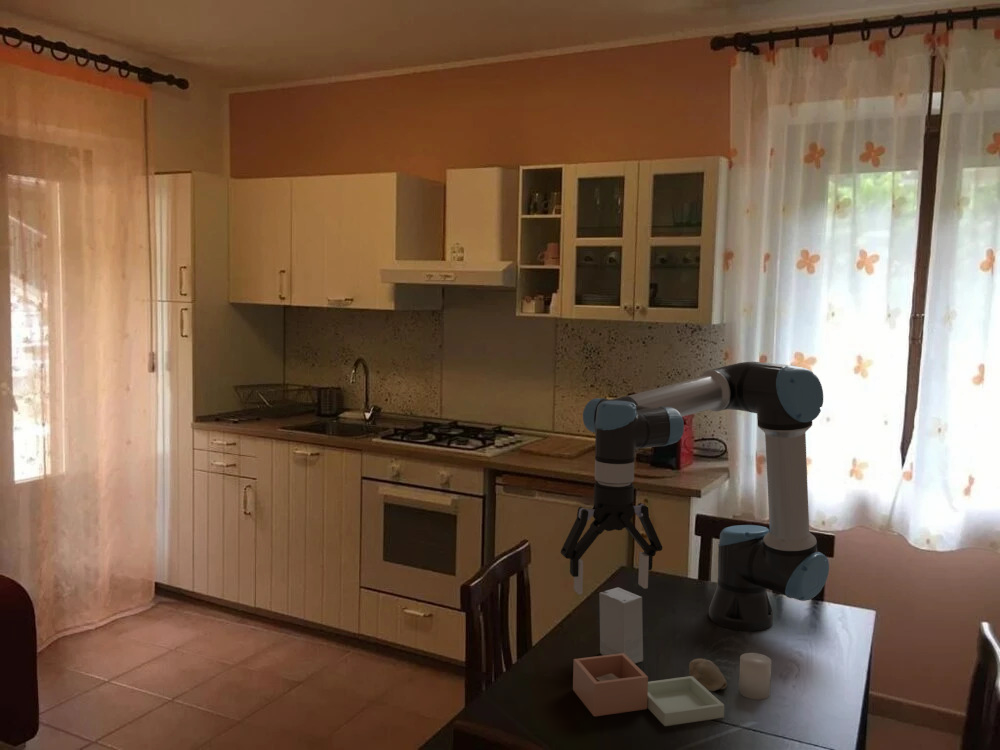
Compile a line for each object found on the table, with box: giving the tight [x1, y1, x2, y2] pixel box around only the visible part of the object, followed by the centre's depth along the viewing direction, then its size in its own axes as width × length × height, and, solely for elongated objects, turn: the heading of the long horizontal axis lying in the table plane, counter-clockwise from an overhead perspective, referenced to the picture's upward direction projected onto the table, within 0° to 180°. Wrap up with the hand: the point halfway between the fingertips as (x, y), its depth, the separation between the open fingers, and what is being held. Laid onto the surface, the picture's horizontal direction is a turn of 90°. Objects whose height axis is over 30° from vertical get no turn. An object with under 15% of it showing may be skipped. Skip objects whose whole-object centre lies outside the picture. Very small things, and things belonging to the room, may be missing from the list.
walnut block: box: [595, 673, 620, 682], centre depth 169 cm, size 4×4×4 cm
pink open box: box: [572, 653, 649, 718], centre depth 169 cm, size 11×11×7 cm
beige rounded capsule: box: [738, 652, 772, 701], centre depth 173 cm, size 6×6×7 cm
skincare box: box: [598, 587, 644, 664], centre depth 187 cm, size 8×6×15 cm
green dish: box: [647, 675, 725, 727], centre depth 167 cm, size 12×12×3 cm
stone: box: [688, 658, 728, 692], centre depth 177 cm, size 7×6×8 cm
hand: (610, 589), depth 167 cm, fingers open, 13 cm apart
